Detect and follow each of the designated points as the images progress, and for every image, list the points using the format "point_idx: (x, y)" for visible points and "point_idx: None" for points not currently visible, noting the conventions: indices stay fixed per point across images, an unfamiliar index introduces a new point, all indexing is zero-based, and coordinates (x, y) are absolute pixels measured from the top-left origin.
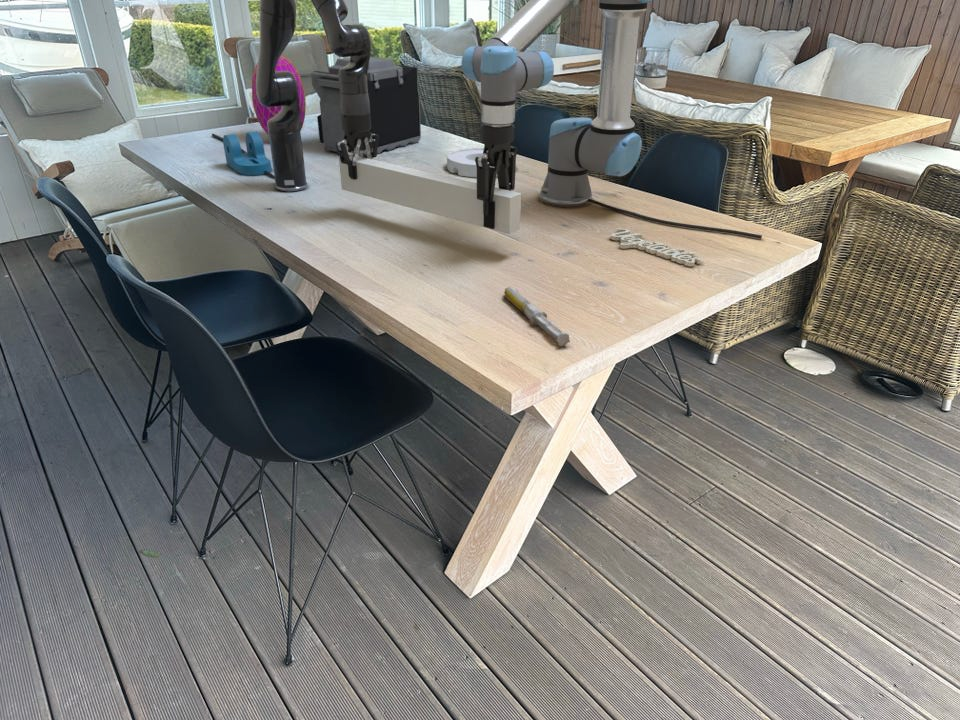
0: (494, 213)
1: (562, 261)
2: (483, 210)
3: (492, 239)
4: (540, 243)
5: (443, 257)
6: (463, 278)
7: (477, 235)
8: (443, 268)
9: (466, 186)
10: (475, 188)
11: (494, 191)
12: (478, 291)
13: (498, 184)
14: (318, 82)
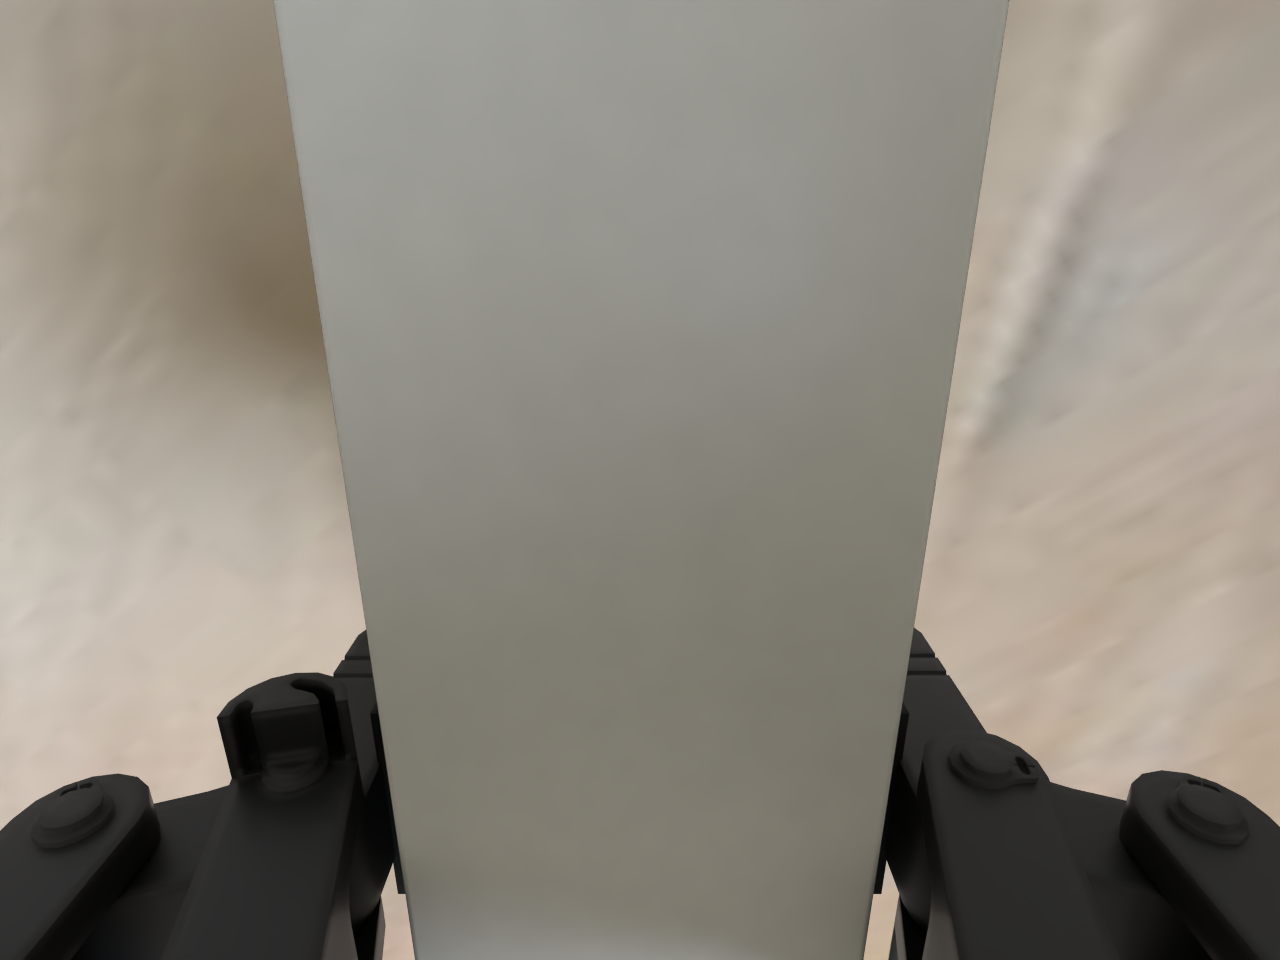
0: None
1: None
2: (348, 661)
3: None
4: (1012, 613)
5: (223, 161)
6: (74, 567)
7: None
8: (63, 332)
9: (383, 39)
10: (436, 452)
11: (576, 934)
12: (25, 748)
13: (951, 911)
14: None
